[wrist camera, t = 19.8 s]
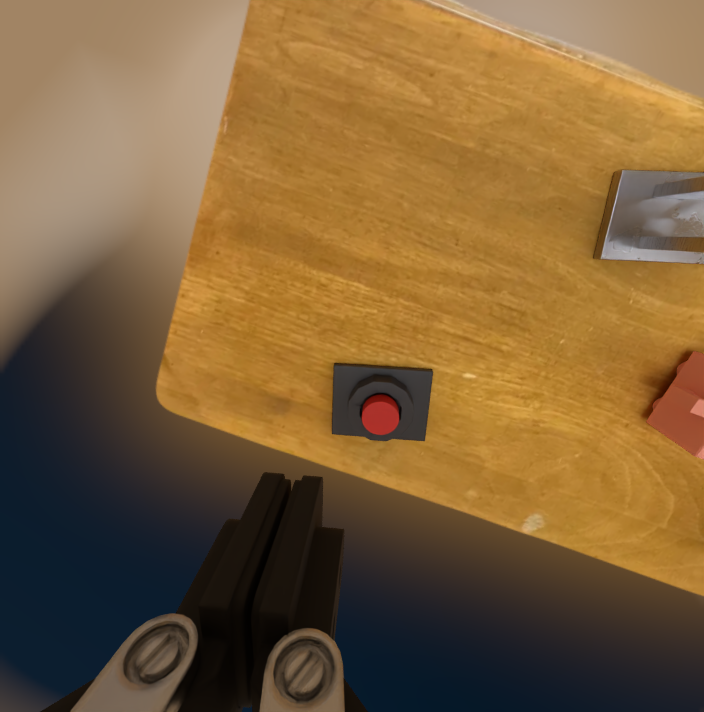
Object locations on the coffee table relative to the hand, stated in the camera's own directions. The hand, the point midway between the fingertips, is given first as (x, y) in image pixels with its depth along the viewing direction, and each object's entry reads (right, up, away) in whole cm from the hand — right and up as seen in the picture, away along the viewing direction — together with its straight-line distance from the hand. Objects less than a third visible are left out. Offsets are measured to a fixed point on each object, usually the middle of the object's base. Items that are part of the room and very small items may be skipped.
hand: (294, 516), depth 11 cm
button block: (+5, 0, +28) cm, 29 cm away
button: (+5, -1, +26) cm, 27 cm away
